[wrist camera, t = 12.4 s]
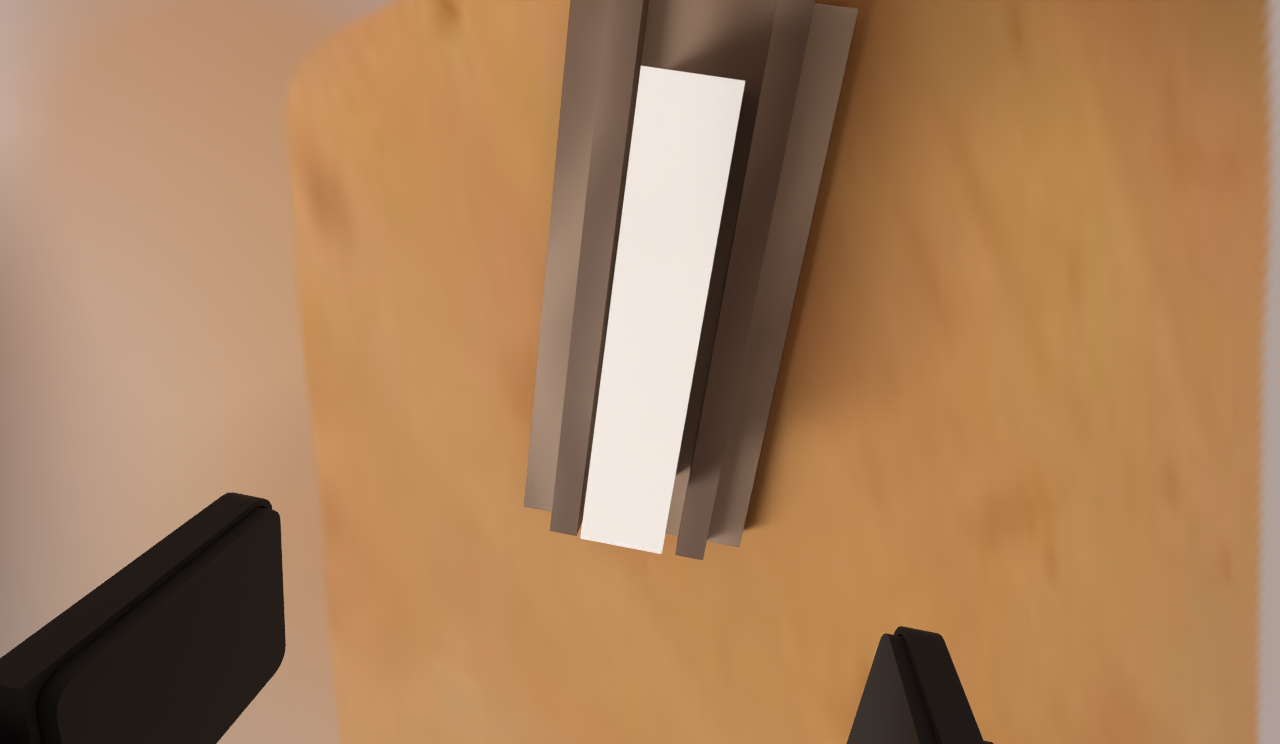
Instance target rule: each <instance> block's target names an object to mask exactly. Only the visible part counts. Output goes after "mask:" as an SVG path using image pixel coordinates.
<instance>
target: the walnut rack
mask: <svg viewBox="0 0 1280 744" xmlns="http://www.w3.org/2000/svg"><path fill="white" fill-rule="evenodd" d="M857 13H858V9H857V8H850V7H843V6H835V5H828V4H820V3H815V0H571V1H570V12H569V22H568V33H567V44H566V55H565V66H564V77H563V88H562V99H561V109H560V120H559V131H558V142H557V153H556V164H555V175H554V186H553V196H552V207H551V218H550V229H549V240H548V251H547V262H546V272H545V283H544V294H543V305H542V316H541V327H540V338H539V349H538V359H537V370H536V381H535V392H534V403H533V414H532V425H531V435H530V446H529V457H528V468H527V479H526V490H525V501H524V507H529V508H534V509H539V510H545V511H550V512H552V516H551V525H550V531H554V532H559V533H564V534H569V535H574V536H577V533H578V531H579V528H580V525H581V523H582V520H583V514H584V506H585V498H586V491H587V483H588V475H589V467H590V459H591V452H592V444H593V436H594V428H595V420H596V413H597V405H598V397H599V389H600V381H601V373H602V366H603V358H604V350H605V342H606V334H607V327H608V319H609V311H610V303H611V295H612V288H613V280H614V272H615V264H616V256H617V249H618V241H619V233H620V225H621V217H622V209H623V202H624V194H625V186H626V178H627V170H628V163H629V155H630V147H631V139H632V131H633V124H634V116H635V108H636V100H637V92H638V85H639V77H640V69H641V66H647V67H654V68H661V69H667V70H674V71H681V72H688V73H695V74H702V75H709V76H716V77H722V78H729V79H736V80H743V81H745V86H744V91H743V97H742V103H741V108H740V114H739V119H738V125H737V131H736V136H735V142H734V148H733V153H732V159H731V165H730V170H729V176H728V182H727V187H726V193H725V198H724V204H723V210H722V215H721V221H720V227H719V232H718V238H717V244H716V249H715V255H714V260H713V266H712V272H711V277H710V283H709V289H708V294H707V300H706V306H705V311H704V317H703V323H702V328H701V334H700V339H699V345H698V351H697V356H696V362H695V368H694V373H693V379H692V385H691V390H690V396H689V402H688V407H687V413H686V418H685V424H684V430H683V435H682V441H681V447H680V452H679V458H678V464H677V469H676V475H675V480H674V486H673V492H672V497H671V503H670V509H669V514H668V520H667V526H666V531H665V533H666V534H671V535H676V536H678V540H677V547H676V555H678V556H684V557H689V558H694V559H699V560H703V557H704V552H705V547H706V542H707V541H708V542H713V543H718V544H724V545H729V546H734V547H740V542H741V538H742V533H743V529H744V524H745V519H746V515H747V510H748V506H749V501H750V497H751V492H752V488H753V483H754V479H755V474H756V470H757V465H758V461H759V456H760V452H761V447H762V443H763V438H764V434H765V429H766V425H767V420H768V416H769V411H770V407H771V402H772V397H773V393H774V388H775V384H776V379H777V375H778V370H779V366H780V361H781V357H782V352H783V348H784V343H785V339H786V334H787V330H788V325H789V321H790V316H791V312H792V307H793V303H794V298H795V294H796V289H797V285H798V280H799V275H800V271H801V266H802V262H803V257H804V253H805V248H806V244H807V239H808V235H809V230H810V226H811V221H812V217H813V212H814V208H815V203H816V199H817V194H818V190H819V185H820V181H821V176H822V172H823V167H824V163H825V158H826V154H827V149H828V144H829V140H830V135H831V131H832V126H833V122H834V117H835V113H836V108H837V104H838V99H839V95H840V90H841V86H842V81H843V77H844V72H845V68H846V63H847V59H848V54H849V50H850V45H851V41H852V36H853V32H854V27H855V22H856V18H857Z"/></svg>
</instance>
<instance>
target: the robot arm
mask: <svg viewBox="0 0 1280 744" xmlns="http://www.w3.org/2000/svg"><path fill="white" fill-rule="evenodd" d="M285 645H286V644H285V622H284V597H283V572H282V550H281V525H280V515H279V514H278V512H276V511H274V510H272V505H271V504H270V502H269V501H268V500H266V499H263V498H258V497H253V496H248V495H243V494H238V493H227V494H225V495H223V496H221V497H220V498H219V499H217V500H216V501H214V502H213V503H212V504H210V505H209V506H208V507H206V508H205V509H203V510H202V511H201V512H199V513H198V514H197V515H195V516H194V517H193V518H191V519H190V520H189V521H187V522H186V523H184V524H183V525H182V526H180V527H179V528H178V529H176V530H175V531H173V532H172V533H171V534H169V535H168V536H167V537H165V538H164V539H163V540H161V541H160V542H158V543H157V544H156V545H154V546H153V547H152V548H150V549H149V550H148V551H146V552H145V553H143V554H142V555H141V556H139V557H138V558H137V559H135V560H134V561H133V562H131V563H130V564H128V565H127V566H126V567H124V568H123V569H122V570H120V571H119V572H118V573H116V574H115V575H114V576H112V577H111V578H109V579H108V580H107V581H105V582H104V583H103V584H101V585H100V586H98V587H97V588H96V589H94V590H93V591H92V592H90V593H89V594H87V595H86V596H85V597H83V598H82V599H81V600H79V601H78V602H77V603H75V604H74V605H72V606H71V607H70V608H69V609H67V610H66V611H64V612H63V613H62V614H60V615H59V616H57V617H56V618H55V619H53V620H52V621H51V622H49V623H48V624H47V625H45V626H44V627H42V628H41V629H40V630H39V631H37V632H36V633H35V634H33V635H32V636H30V637H29V638H27V639H26V640H25V641H23V642H22V643H21V644H19V645H18V646H17V647H15V648H14V649H12V650H11V651H10V652H8V653H7V654H6V655H4V656H3V657H2V658H0V744H216V743H217V742H218V741H219V740H220V739H221V737H222V736H223V735H224V734H225V733H226V731H227V730H228V729H229V727H230V726H231V725H232V724H233V723H234V722H235V721H236V719H237V718H238V717H239V716H240V715H241V713H242V712H243V711H244V710H245V708H246V707H247V706H248V705H249V704H250V703H251V701H252V700H253V699H254V698H255V697H256V695H257V694H258V693H259V692H260V691H261V689H262V688H263V687H264V686H265V685H266V683H267V682H268V681H269V680H270V679H271V677H272V676H273V675H274V674H275V672H276V671H277V670H278V668H279V666H280V664H281V662H282V660H283V657H284V653H285ZM847 744H993V743H992V742H988V741H983V738H982V736H981V733H980V731H979V728H978V726H977V723H976V721H975V718H974V715H973V713H972V710H971V708H970V705H969V703H968V700H967V698H966V695H965V692H964V690H963V687H962V685H961V682H960V680H959V677H958V675H957V672H956V669H955V667H954V664H953V662H952V659H951V657H950V654H949V652H948V649H947V646H946V644H945V641H944V639H943V638H942V636H941V635H940V634H938V633H933V632H928V631H923V630H918V629H913V628H908V627H903V626H900V627H898V628H897V629H896V631H895V633H894V635H891V634H883V636H882V637H881V640H880V642H879V645H878V648H877V651H876V655H875V658H874V661H873V664H872V667H871V670H870V673H869V676H868V679H867V682H866V686H865V689H864V692H863V695H862V698H861V701H860V704H859V707H858V710H857V713H856V717H855V720H854V723H853V726H852V729H851V732H850V735H849V738H848V741H847Z"/></svg>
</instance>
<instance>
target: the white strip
mask: <svg viewBox="0 0 1280 744" xmlns="http://www.w3.org/2000/svg"><path fill="white" fill-rule="evenodd" d="M744 86H745V81H743V80H736V79H729V78H722V77H716V76H709V75H702V74H695V73H688V72H681V71H674V70H667V69H661V68H654V67H647V66H641V69H640V77H639V85H638V92H637V100H636V108H635V116H634V124H633V131H632V139H631V147H630V155H629V163H628V170H627V178H626V186H625V194H624V202H623V209H622V217H621V225H620V233H619V241H618V249H617V256H616V264H615V272H614V280H613V288H612V295H611V303H610V311H609V319H608V327H607V334H606V342H605V350H604V358H603V366H602V373H601V381H600V389H599V397H598V405H597V413H596V420H595V428H594V436H593V444H592V452H591V459H590V467H589V475H588V483H587V491H586V498H585V506H584V514H583V522H582V530H581V539H586V540H591V541H597V542H602V543H607V544H612V545H617V546H622V547H628V548H633V549H638V550H643V551H648V552H654V553H659V554H662V548H663V543H664V537H665V531H666V526H667V520H668V514H669V509H670V503H671V497H672V492H673V486H674V480H675V475H676V469H677V464H678V458H679V452H680V447H681V441H682V435H683V430H684V424H685V418H686V413H687V407H688V402H689V396H690V390H691V385H692V379H693V373H694V368H695V362H696V356H697V351H698V345H699V339H700V334H701V328H702V323H703V317H704V311H705V306H706V300H707V294H708V289H709V283H710V277H711V272H712V266H713V260H714V255H715V249H716V244H717V238H718V232H719V227H720V221H721V215H722V210H723V204H724V198H725V193H726V187H727V182H728V176H729V170H730V165H731V159H732V153H733V148H734V142H735V136H736V131H737V125H738V119H739V114H740V108H741V103H742V97H743V91H744Z"/></svg>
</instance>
